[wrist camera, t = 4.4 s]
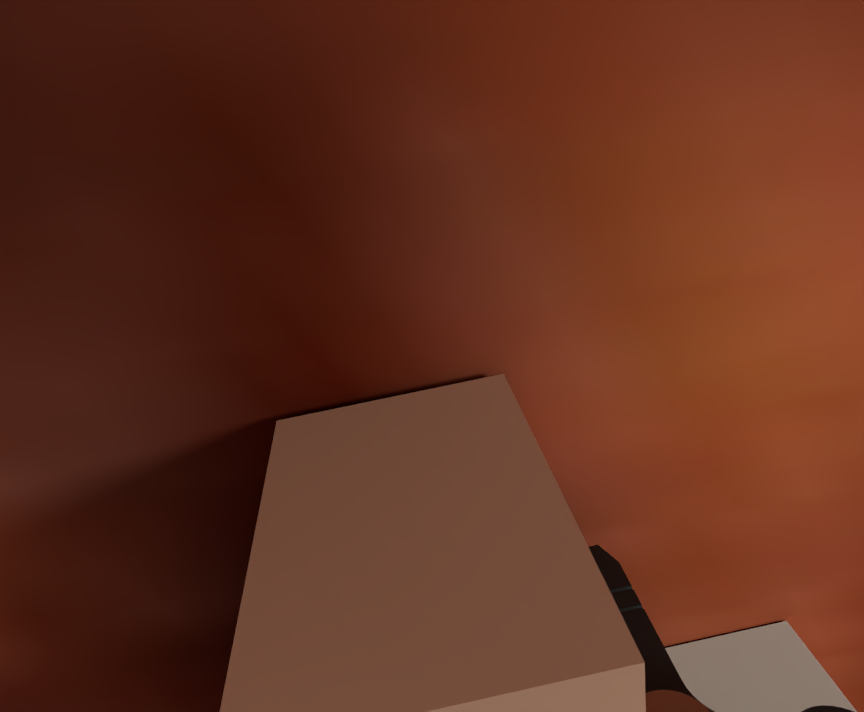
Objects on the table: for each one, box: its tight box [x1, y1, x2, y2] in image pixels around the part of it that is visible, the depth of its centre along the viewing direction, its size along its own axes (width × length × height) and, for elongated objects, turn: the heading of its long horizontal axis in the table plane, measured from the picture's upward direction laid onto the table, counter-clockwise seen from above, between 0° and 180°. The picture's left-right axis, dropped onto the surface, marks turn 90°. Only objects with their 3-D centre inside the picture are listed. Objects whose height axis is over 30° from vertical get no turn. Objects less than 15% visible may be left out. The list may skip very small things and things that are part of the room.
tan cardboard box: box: [220, 374, 646, 712], centre depth 10 cm, size 8×4×6 cm, turn 10°
